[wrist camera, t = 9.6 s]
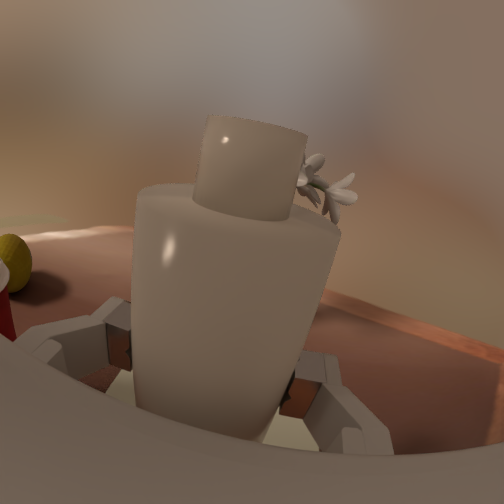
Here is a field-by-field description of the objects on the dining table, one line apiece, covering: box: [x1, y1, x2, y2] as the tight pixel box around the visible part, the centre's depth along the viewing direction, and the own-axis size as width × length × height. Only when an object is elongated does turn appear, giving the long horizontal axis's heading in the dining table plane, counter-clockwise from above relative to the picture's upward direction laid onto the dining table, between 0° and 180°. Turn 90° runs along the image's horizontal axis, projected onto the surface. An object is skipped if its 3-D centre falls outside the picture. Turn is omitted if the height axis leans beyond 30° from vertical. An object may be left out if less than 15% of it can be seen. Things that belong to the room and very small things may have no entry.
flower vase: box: [296, 152, 358, 225], centre depth 38 cm, size 13×18×25 cm
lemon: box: [0, 234, 32, 293], centre depth 32 cm, size 11×8×8 cm
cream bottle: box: [131, 115, 341, 443], centre depth 9 cm, size 5×5×14 cm
